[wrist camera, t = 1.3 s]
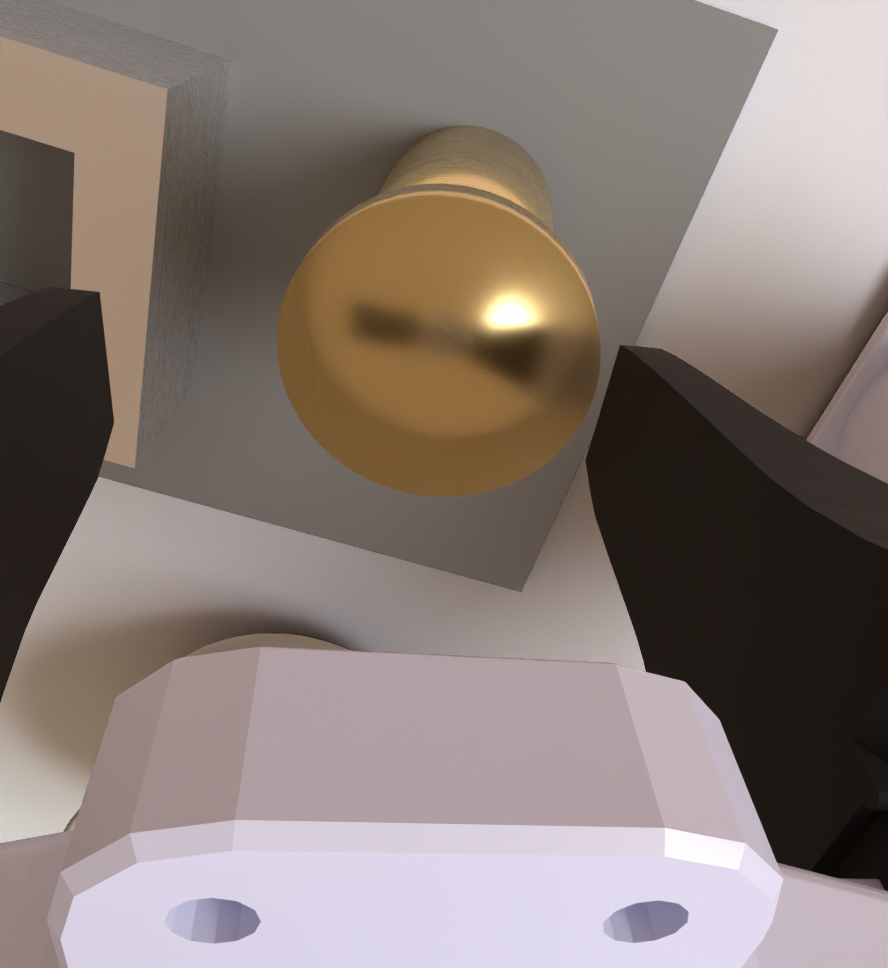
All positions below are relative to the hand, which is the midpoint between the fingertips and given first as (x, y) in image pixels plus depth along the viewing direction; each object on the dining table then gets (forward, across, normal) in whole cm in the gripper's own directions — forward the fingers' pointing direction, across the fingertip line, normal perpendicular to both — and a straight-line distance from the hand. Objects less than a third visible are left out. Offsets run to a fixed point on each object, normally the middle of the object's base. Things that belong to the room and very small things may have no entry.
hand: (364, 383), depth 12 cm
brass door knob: (+9, -2, 0) cm, 9 cm away
